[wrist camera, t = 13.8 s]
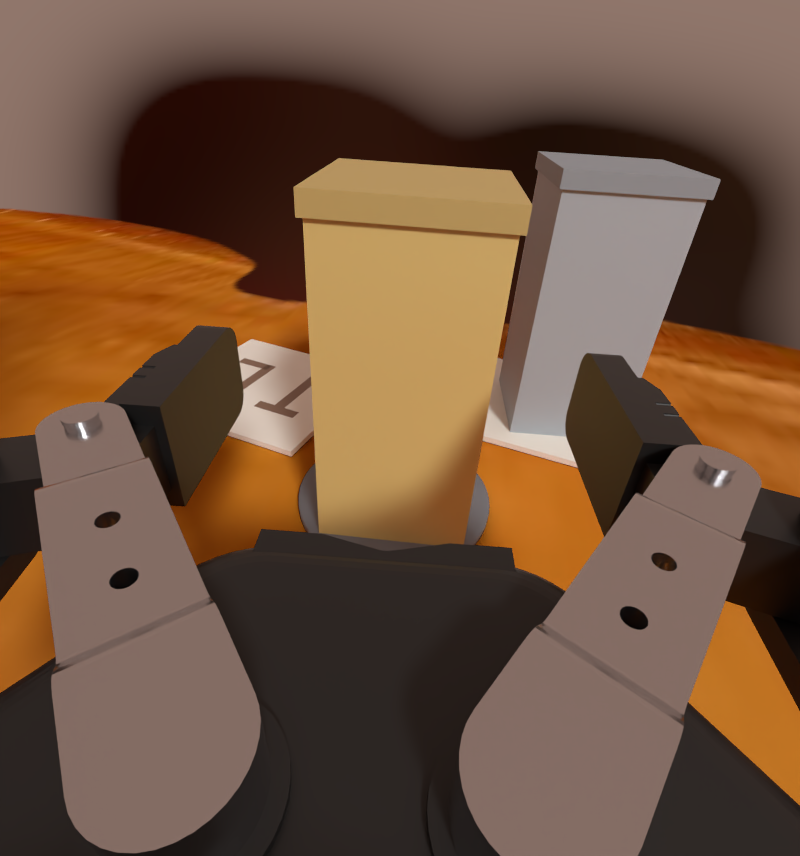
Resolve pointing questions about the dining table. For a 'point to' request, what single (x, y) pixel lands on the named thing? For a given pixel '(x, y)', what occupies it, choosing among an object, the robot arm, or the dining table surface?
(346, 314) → the ochre tea tin
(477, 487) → the felt coaster
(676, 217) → the slate tea tin
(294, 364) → the cream tile
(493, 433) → the cream tile
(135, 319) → the dining table surface
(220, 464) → the dining table surface
